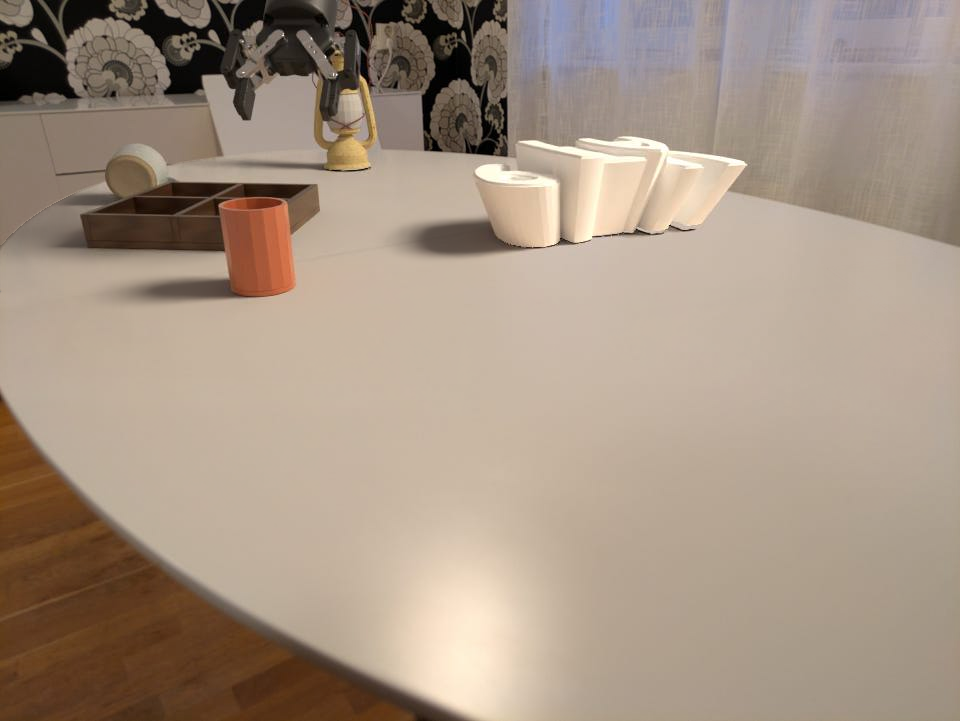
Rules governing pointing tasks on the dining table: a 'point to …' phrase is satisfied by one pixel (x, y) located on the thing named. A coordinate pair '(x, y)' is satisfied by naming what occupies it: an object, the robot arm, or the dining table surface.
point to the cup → (258, 245)
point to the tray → (186, 214)
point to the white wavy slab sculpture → (600, 189)
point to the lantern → (346, 122)
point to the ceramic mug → (136, 170)
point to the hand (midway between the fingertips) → (283, 115)
